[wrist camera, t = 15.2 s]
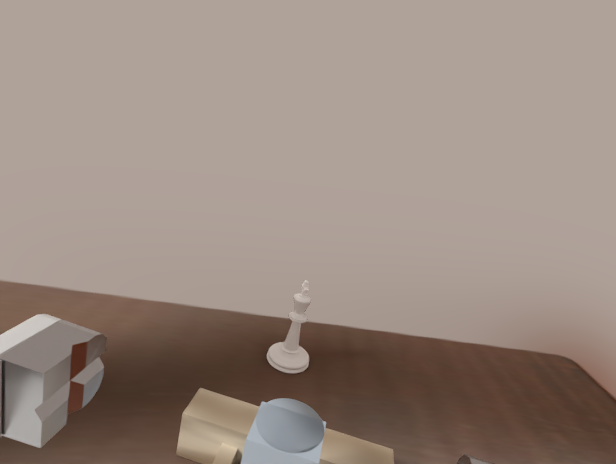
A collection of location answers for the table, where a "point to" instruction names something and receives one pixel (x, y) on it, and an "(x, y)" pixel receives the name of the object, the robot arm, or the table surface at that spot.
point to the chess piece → (292, 339)
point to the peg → (284, 434)
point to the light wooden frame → (236, 425)
